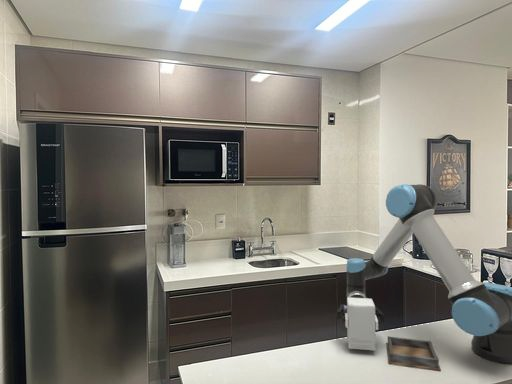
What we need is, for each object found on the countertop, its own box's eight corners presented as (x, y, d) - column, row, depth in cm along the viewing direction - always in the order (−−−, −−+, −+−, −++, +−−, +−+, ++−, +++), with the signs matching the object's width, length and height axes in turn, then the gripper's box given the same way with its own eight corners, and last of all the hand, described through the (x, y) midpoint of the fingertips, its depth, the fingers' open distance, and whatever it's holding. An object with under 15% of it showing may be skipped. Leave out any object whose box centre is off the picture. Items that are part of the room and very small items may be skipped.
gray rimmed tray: (432, 349, 123) (432, 340, 122) (440, 371, 108) (440, 361, 108) (386, 344, 127) (386, 335, 127) (388, 364, 113) (388, 354, 113)
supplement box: (376, 351, 118) (375, 306, 118) (348, 349, 120) (347, 304, 120) (372, 339, 127) (372, 298, 127) (347, 338, 129) (346, 296, 129)
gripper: (386, 314, 139) (396, 338, 117) (329, 311, 143) (328, 333, 121) (386, 295, 138) (396, 315, 116) (329, 292, 143) (328, 311, 121)
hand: (361, 324), depth 119 cm, fingers closed on supplement box, 9 cm apart
